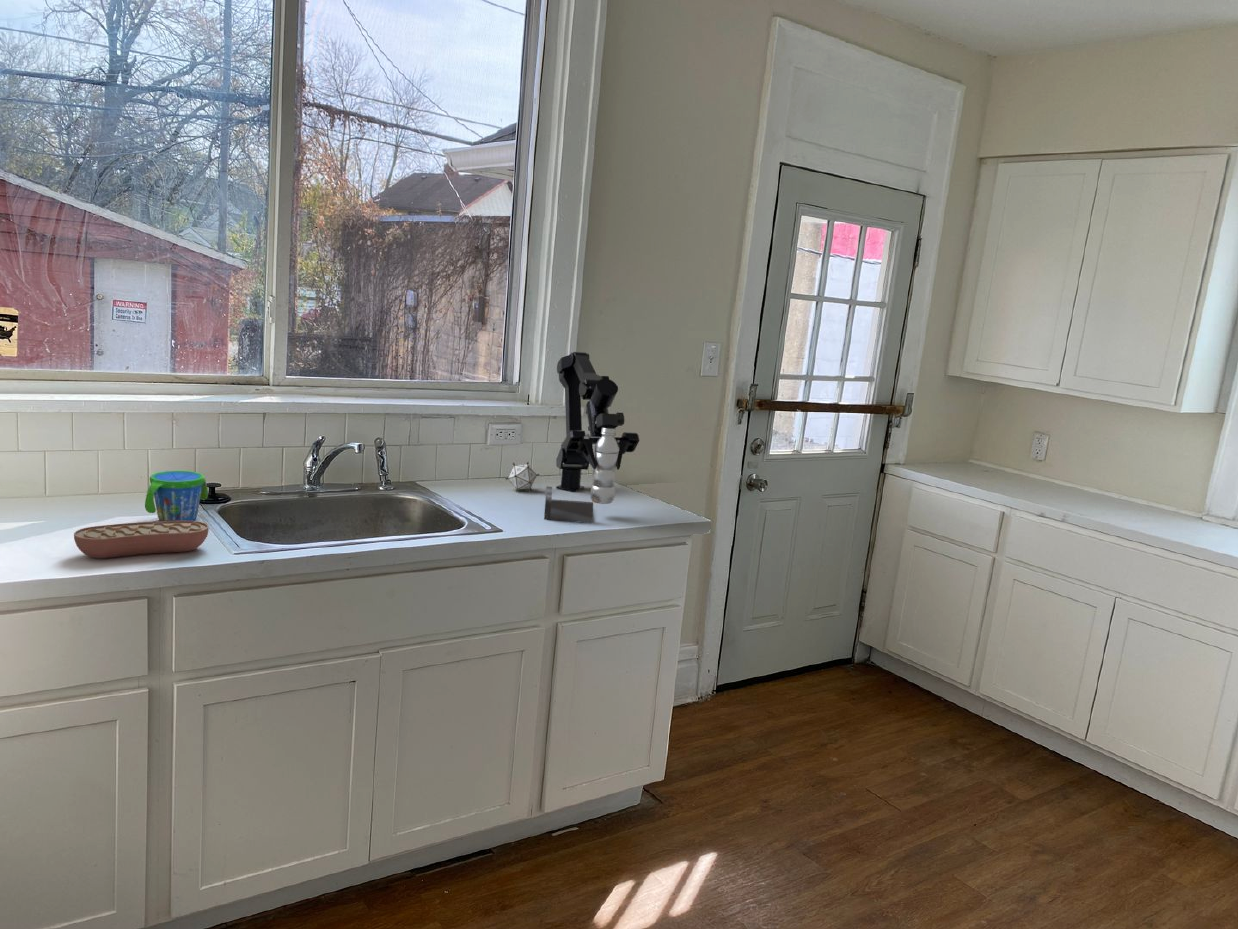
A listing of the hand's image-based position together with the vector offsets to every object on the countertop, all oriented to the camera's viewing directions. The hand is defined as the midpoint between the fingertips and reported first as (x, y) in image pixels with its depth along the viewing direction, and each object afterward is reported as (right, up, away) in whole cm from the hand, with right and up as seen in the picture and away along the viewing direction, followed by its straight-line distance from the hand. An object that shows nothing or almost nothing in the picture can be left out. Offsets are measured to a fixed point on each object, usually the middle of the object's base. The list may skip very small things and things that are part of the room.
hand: (606, 468), depth 229 cm
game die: (-25, -7, +26) cm, 36 cm away
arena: (-10, -12, +4) cm, 16 cm away
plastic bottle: (-1, -9, +3) cm, 10 cm away
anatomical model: (-89, -16, -56) cm, 106 cm away
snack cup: (-93, -12, -34) cm, 100 cm away
